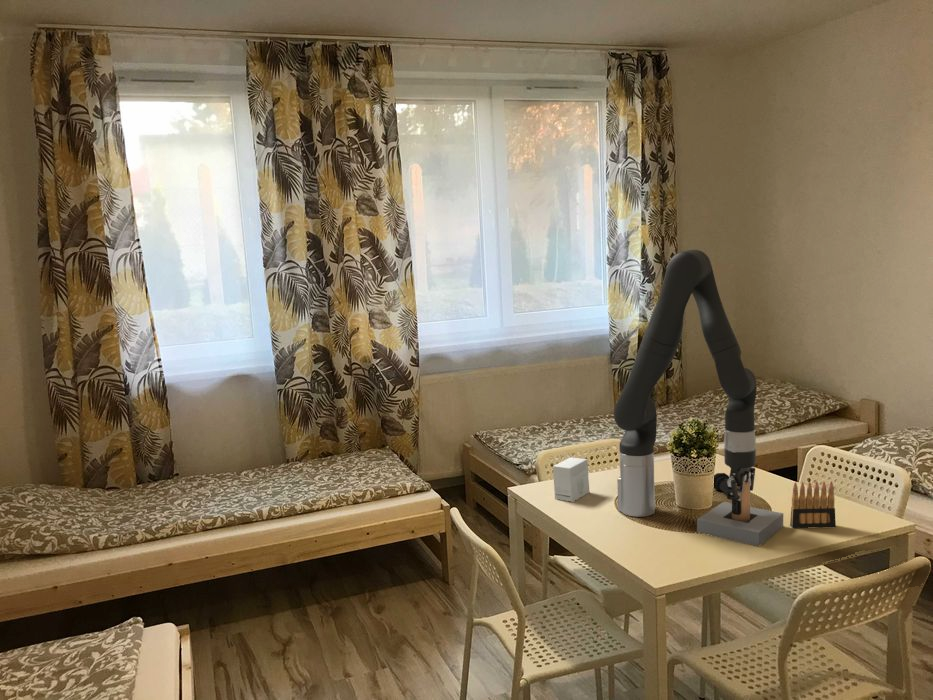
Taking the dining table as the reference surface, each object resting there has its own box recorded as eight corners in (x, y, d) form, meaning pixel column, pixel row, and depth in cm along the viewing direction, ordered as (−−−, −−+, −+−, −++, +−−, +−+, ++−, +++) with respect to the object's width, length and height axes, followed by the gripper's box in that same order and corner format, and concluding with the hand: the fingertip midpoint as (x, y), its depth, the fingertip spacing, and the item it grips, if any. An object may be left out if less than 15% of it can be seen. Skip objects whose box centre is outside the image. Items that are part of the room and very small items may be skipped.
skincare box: (571, 489, 237) (570, 456, 235) (589, 492, 233) (588, 459, 231) (553, 499, 229) (552, 465, 227) (572, 502, 225) (571, 468, 223)
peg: (729, 524, 197) (728, 483, 196) (736, 519, 200) (735, 478, 199) (745, 528, 194) (745, 486, 193) (752, 522, 197) (752, 481, 196)
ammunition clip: (792, 528, 197) (792, 483, 195) (790, 525, 198) (790, 481, 197) (835, 527, 196) (836, 482, 194) (833, 524, 197) (833, 479, 196)
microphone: (753, 519, 213) (722, 488, 232) (760, 500, 211) (728, 471, 231) (736, 515, 212) (705, 484, 231) (743, 496, 210) (712, 467, 230)
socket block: (697, 532, 197) (696, 519, 197) (723, 514, 209) (723, 501, 208) (758, 546, 186) (758, 532, 186) (783, 526, 198) (783, 513, 198)
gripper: (737, 438, 202) (737, 501, 205) (713, 451, 192) (714, 516, 194) (765, 442, 197) (765, 506, 200) (742, 455, 187) (743, 522, 189)
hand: (740, 511), depth 197 cm, fingers closed on peg, 4 cm apart
